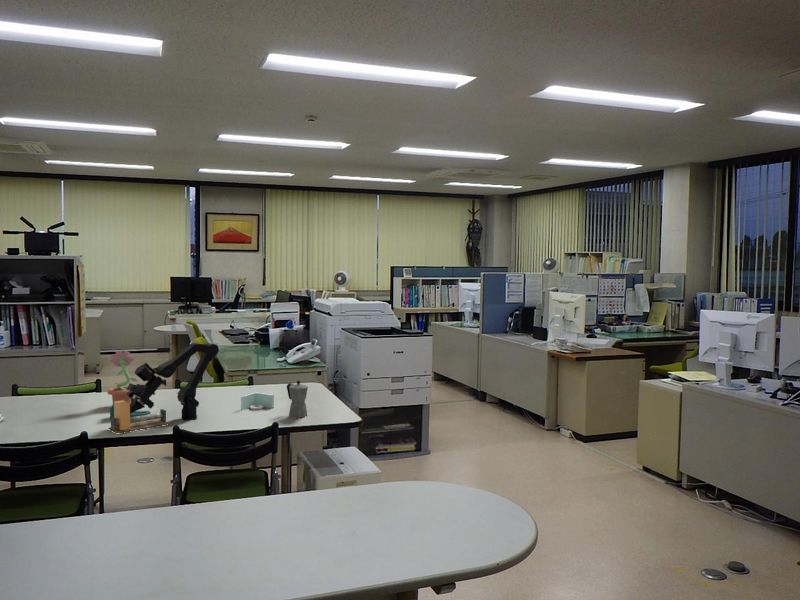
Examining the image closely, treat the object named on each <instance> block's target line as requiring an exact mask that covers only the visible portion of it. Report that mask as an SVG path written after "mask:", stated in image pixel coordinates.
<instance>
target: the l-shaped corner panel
mask: <svg viewBox="0 0 800 600" xmlns="http://www.w3.org/2000/svg"><path fill="white" fill-rule="evenodd" d="M240 401H241V402H240V410H241V411H243V410H247V409H249V410H251V411H261V410H263V409H264V408H267V409H268V408H270V409H274V408H275V394H271V393H263V392H257V391H256V392H252V393H249V394H246V395H242V396H241V397H240Z"/></svg>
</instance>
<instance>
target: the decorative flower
mask: <svg viewBox="0 0 800 600" xmlns="http://www.w3.org/2000/svg"><path fill="white" fill-rule="evenodd" d="M129 355H131V352H130V351H126V350H125V351H122V350H117V351H116V352H115V354H114V353H113V354H111V357H110V360H109V362H110V363H111V364H112V365H113V366H115V367H118V368H121V370H120V371H118V372H117V375H116V376H120V375H122V374H124V375H125V376H124V377H125V378H126V381H123V382H120V383H118V382H117V383H115V382H114V384H115V385H116V386H115V387H110V388H109V389H108V390H107V394H108V395H109V396H110V395H111V398H112V399H111V401H112V404H113V403H114V402H115V401H122V400H123V401H125V402H127V403H131V399H130V397H129V396H127V395H126V393H127V392H128V391H129V390H127V388H128V386H127V385H129V383H131V382H132V381H133V382H139V380H138V379H137V378H134V377H130V374H129V372H128V370H127V368H126V367H127V366H130V365H131V363H132V362H134V360H135V357H133V356H132V357H130V356H129Z"/></svg>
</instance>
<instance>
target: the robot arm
mask: <svg viewBox="0 0 800 600" xmlns="http://www.w3.org/2000/svg"><path fill="white" fill-rule="evenodd" d="M197 352H198V353H199V352H200V358H199V360H198V363H196V366H195V368H194V370H193V371H192V374H191V376H190V378H189V380H188V382H187V383H186V385H185V386H182V385H181V387H180V388H179V391H178V392H177V398H176V399H177V401H178V402H179V403H180V405H182V408H181V419H183V420H182V421H186V420H188V421H189V420H197V418H198V414H197V413H198V412H197V411H198V409H197V408H198V407H199V405H200V401H198V400H197V399H196V395H197V388H198V386H199V384H200V382H201V380H202V377H203V376H204V373H205V372H206V370H207V369H208V366H209V364H210V362H212V360H214V359H215V358H216V357H217V355H218V354H219V352H220V348H219V346H218V344H215V343H211V342H206V343H196V342H192V343H190V344H189V345H188V346H187V347H186V348H185V349H183V350H182V351H181V352H179V353H178V354H177V355H176V356H174V357H173V358H172V359H170V360H167V361H165V362H163V363H161V364H159V365H158V366H157V367H154V368H152V367H151V366H150V365H149V364H148V363H146V362H144V363H143V364H141V365H140V366H138V367H137V368H136V369H135V370H134V375H136V376H137V377H138V378H139V379H140V380H142V381H143V382H146V383H144V384H141V383H140V384H139V383H137V384H134V383H131V382H129V383H128V384H127V385H128V388H127V390H129V391H128V392H127V393H126V395H127V396H129V397H130V399H131V403H130V414H131V413H133V412H135V411H140V410H141V409H144V408H146V407H147V408H148V409H151V410H152V409H153V407H154V406H155V402H153V400H151V399H150V398H151V397H152V396H155V395H156V391H157V390H158V389H159V388H160V387H161V386H162V385H163V386H165V387H166V386H167V380H166V379H169V378H171V377H172V376H173V375H174V374H175V373H176V371H177V369H178V368H179V367H180V366H181V365H183V363H185V362H186V361H187V360H189V359H190V358H191V357H192V356H194V355H195V354H196V353H197ZM156 375H157V376H156Z"/></svg>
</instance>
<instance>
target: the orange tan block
mask: <svg viewBox="0 0 800 600" xmlns="http://www.w3.org/2000/svg"><path fill="white" fill-rule="evenodd" d="M114 418H116V419H117V420H119V426H117V429H119V430H127V429H130V403H127V402H125V401H123V400H122V401H115V402H114Z"/></svg>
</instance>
